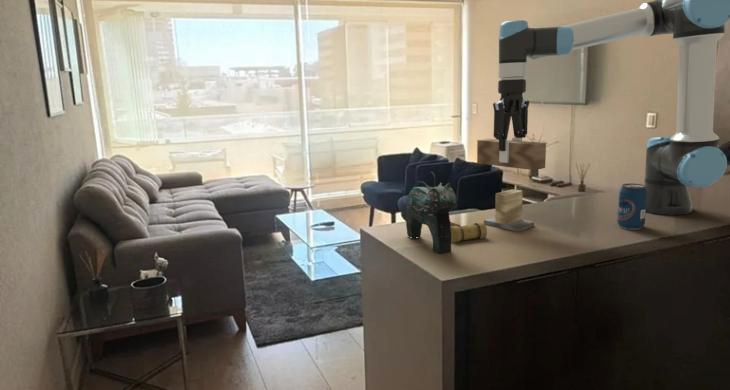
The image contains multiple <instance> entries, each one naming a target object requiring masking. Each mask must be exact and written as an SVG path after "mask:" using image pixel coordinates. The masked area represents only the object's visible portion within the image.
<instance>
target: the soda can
mask: <svg viewBox="0 0 730 390" xmlns="http://www.w3.org/2000/svg"><path fill="white" fill-rule="evenodd" d="M646 202H647V191H646V189H645V185H644V184H641V183H640V184H639V183H624V184H622V185H621V188H620V189H619V191H618V203H617V219H616V220H617V221H616V222H617V224H618V225H619V227H620V228H621V229H625V230H631V231H632V230H636V231H637V230H641V229H643V227H644V226H645V224H646V215H647V214H646V213H647V212H646Z"/></svg>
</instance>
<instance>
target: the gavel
mask: <svg viewBox="0 0 730 390" xmlns="http://www.w3.org/2000/svg"><path fill="white" fill-rule="evenodd" d="M450 226H451V235H452V236H451V243H453V244H455V243H460V242H461V241H462V242H463V241H469V240H474V239H478V240H479V239H482V240H483V239H486V238H487V236H488V235H487V234H488V229H487V226H486V224H484V221H483V222H482V221H479V222H475V223H473V224H467V225H461V224H458V223H456V222H452V221H450Z"/></svg>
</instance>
